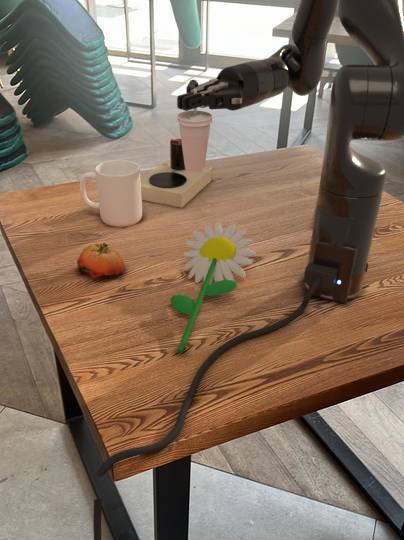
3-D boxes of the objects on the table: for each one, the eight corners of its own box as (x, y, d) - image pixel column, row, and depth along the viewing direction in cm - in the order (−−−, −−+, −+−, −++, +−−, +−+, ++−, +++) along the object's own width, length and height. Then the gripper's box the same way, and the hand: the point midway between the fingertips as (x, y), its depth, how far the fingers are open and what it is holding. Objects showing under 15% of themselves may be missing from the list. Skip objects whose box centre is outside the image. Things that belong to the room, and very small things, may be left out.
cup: (137, 228, 110) (134, 177, 103) (77, 224, 111) (70, 173, 104) (146, 210, 116) (143, 161, 110) (88, 206, 117) (82, 157, 111)
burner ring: (176, 190, 117) (176, 189, 117) (142, 184, 119) (142, 182, 119) (192, 177, 123) (192, 175, 122) (159, 171, 125) (159, 169, 125)
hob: (181, 207, 118) (181, 193, 116) (134, 198, 121) (133, 183, 119) (213, 178, 130) (213, 165, 128) (169, 171, 133) (169, 157, 131)
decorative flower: (224, 371, 81) (261, 248, 101) (223, 347, 77) (261, 224, 97) (139, 360, 84) (192, 242, 103) (134, 336, 80) (189, 219, 100)
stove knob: (191, 165, 128) (191, 138, 124) (184, 171, 125) (184, 144, 121) (174, 162, 129) (174, 136, 125) (167, 168, 126) (167, 142, 122)
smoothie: (212, 163, 111) (214, 85, 102) (209, 175, 106) (211, 95, 97) (180, 161, 112) (179, 84, 103) (175, 174, 107) (174, 94, 98)
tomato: (127, 276, 93) (94, 243, 90) (97, 302, 95) (65, 271, 93) (132, 259, 100) (102, 228, 97) (104, 283, 102) (74, 254, 99)
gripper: (220, 57, 111) (153, 73, 101) (274, 69, 103) (209, 88, 94) (218, 98, 115) (155, 117, 106) (271, 113, 108) (208, 134, 99)
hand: (181, 103), depth 100 cm, fingers closed on smoothie, 1 cm apart
